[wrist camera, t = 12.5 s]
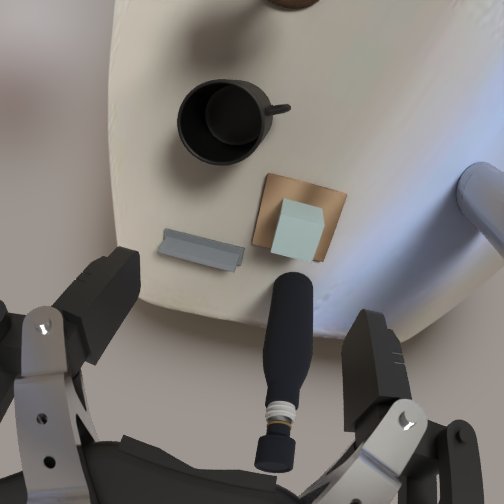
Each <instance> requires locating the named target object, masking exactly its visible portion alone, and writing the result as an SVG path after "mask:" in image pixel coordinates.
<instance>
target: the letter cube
mask: <svg viewBox="0 0 504 504" xmlns="http://www.w3.org/2000/svg"><path fill="white" fill-rule="evenodd" d="M323 229H324V217H323V209H322V208H319V207H315V206H311V205H308V204H304V203H300V202H296V201H292V200H289V199H285V198H284V199H283V202H282V206H281V210H280V214H279V218H278V222H277V225H276V229H275V233H274V238H273V243H272V248H271V253H275V254H279V255H283V256H287V257H291V258H295V259H299V260H302V261H306V262H310V263H312V260H313V258H314V255H315V252H316V249H317V246H318V244H319V241H320V238H321V235H322V232H323Z"/></svg>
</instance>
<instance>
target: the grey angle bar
mask: <svg viewBox="0 0 504 504" xmlns="http://www.w3.org/2000/svg"><path fill="white" fill-rule="evenodd" d="M244 249H245V248H242V247H238V246H234V245H230V244H226V243H222V242H218V241H214V240H210V239H206V238H202V237H198V236H194V235H190V234H186V233H182V232H178V231H174V230H170V229H165V230H164V241H163V242H162V243H161V244H160V246H159V247H158V252H159V253H162V254H166V255H170V256H173V257H177V258H181V259H185V260H188V261H192V262H196V263H200V264H204V265H207V266H211V267H215V268H219V269H223V270H227V271H231V272H235V269H236V266H237V265H239V266H241V263H242V259H243V254H244Z"/></svg>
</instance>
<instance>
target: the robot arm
mask: <svg viewBox="0 0 504 504" xmlns="http://www.w3.org/2000/svg"><path fill="white" fill-rule="evenodd" d="M456 195H457V202H458V206H459V208H460V210H461V211H462V212H463V214H464V215H465V216H466V217H467V218H468V219H469V220H470V221H471V222H472V223H473V224H474V225H475V226H476V228H477V229H478V230H479V231H480V232H481V233H482V234H483V235H484V236H485V237H486V239H487V240H488V241H489V242H490V243H491V244H492V245H493V247H494V248H495V249H496V250H497V251H498V252H499V254H500V255H501V256H502V257H503V258H504V172H502V171H501V170H499V169H497V168H496V167H494V166H492V165H490V164H489V163H485V162H479V163H475V164H473V165H471V166H470V167H468V168H467V169H466V170H465V172H464V173H463V174H462V176H461V178H460V180H459V183H458V186H457V193H456ZM140 287H141V281H140V255H139V252H138V251H134V250H131V249H127V248H124V247H120V246H119V247H117V248H116V249H115V250H114V251H113V252H112V253H111V254H110V255H109V256H108V257H105V256H102V257H101V258H99V259H97V260H95V261H93V262H91V263H90V264H89V265H88V266H87V267H86V268H85V270H84V271H83V273H81V274H80V275H79V276H78V277H77V278H76V280H74V281H73V282H72V284H71V285H70V286H69V287H68V288H67V289H66V290H65V291H64V292H63V294H62V295H61V296H60V297H59V298H58V299H57V300H56V302H55V303H54V304H53V305H52V306H51V307H50V306H42V307H38V308H35V309H33V310H32V311H30V312H29V313H28V314H27V315H20V314H13V313H8V311H7V308H6V306H5V304H4V302H2V301H1V300H0V422H1V420H2V419H3V417H4V415H5V413H6V411H7V409H8V407H9V405H10V403H11V402H12V400H13V398H14V400H15V401H14V402H15V416H16V427H17V435H18V444H19V451H20V457H21V463H22V468H23V471H21V472H18V473H15V474H13V475H10V476H7V477H5V478H1V479H0V504H390V502H391V501H392V500H393V498H394V496H395V495H396V494H397V492H398V504H437V481H436V475H438V474H439V479H440V501H439V504H484V493H483V481H482V472H481V464H480V456H479V450H478V443H477V438H476V434H475V431H474V429H473V428H472V426H471V425H470V424H469V423H467V422H466V421H463V420H455V421H453V422H452V423H450V424H449V425H448V426H447V427H446V426H443V425H440V424H437V423H435V422H432V421H430V420H427V416H426V413H425V411H424V410H423V408H422V407H421V406H420V405H419V404H418V403H416V402H415V401H413V400H412V397H411V392H410V386H409V381H408V377H407V372H406V367H405V365H404V359H403V355H402V350H401V346H400V342H399V340H398V338H397V337H396V335H395V334H394V332H393V331H392V330H391V329H387V326H386V322H385V318H384V315H383V314H382V313H379V312H375V311H370V310H365V309H362V310H361V311H360V313H359V314H358V316H357V318H356V320H355V322H354V323H353V325H352V327H351V329H350V330H349V332H348V334H347V336H346V337H345V340H344V343H343V346H342V352H341V356H342V374H343V399H344V431H345V432H355V440H354V441H353V442H352V443H351V444H350V445H349V446H348V447H347V449H346V450H345V451H344V452H343V453H342V454H341V455H340V457H339V458H338V459H337V460H336V461H335V462H334V463H333V464H332V465H331V467H330V468H329V469H328V470H327V471H326V472H325V473H324V474H323V475H322V476H321V477H320V478H319V479H318V480H317V481H316V482H314V483H313V484H312V485H311V486H310V487H308V488H307V489H306V490H305V491H304V492H303V493H302V494H301V495H299V496H298V497H297V496H296V495H295V494H294V493H292V492H290V491H289V490H287V489H286V488H284V487H282V486H280V485H277V484H276V480H277V476H272V475H266V474H259V473H254V472H248V471H243V470H204V469H195V468H193V467H191V466H189V465H187V464H186V463H184V462H182V461H180V460H178V459H176V458H175V457H173V456H172V455H170V454H168V453H166V452H165V451H163V450H161V449H160V448H158V447H155V446H152V445H149V444H146V443H144V442H141V441H138V440H136V439H133V438H131V437H128V436H126V435H123V437H122V439H121V442H117V441H115V442H114V441H99V439H98V436H97V433H96V430H95V427H94V425H93V422H92V419H91V416H90V412H89V408H88V403H87V398H86V393H85V388H84V383H83V377H82V371H81V366H82V365H83V363H84V362H85V361H86V362H88V363H91V364H93V365H96V364H97V362H98V360H99V359H100V357H101V355H102V354H103V352H104V351H105V349H106V347H107V346H108V344H109V343H110V341H111V339H112V338H113V336H114V335H115V333H116V331H117V330H118V328H119V327H120V325H121V323H122V322H123V320H124V319H125V317H126V316H127V314H128V313H129V311H130V310H131V308H132V307H133V305H134V303H135V302H136V301H137V299H138V296H139V293H140Z"/></svg>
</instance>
